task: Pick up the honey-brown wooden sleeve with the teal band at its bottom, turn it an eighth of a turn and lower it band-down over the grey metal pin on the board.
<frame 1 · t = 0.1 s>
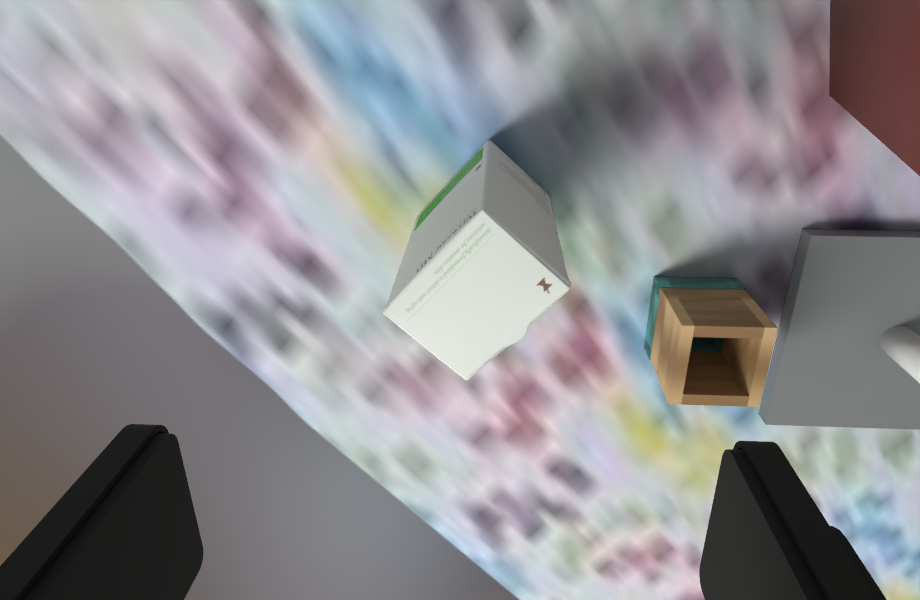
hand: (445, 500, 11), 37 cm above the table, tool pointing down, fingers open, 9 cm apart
skincare box: (483, 209, 47), on the table
wooden sleeve: (688, 313, 49), on the table
pin board: (885, 330, 49), on the table
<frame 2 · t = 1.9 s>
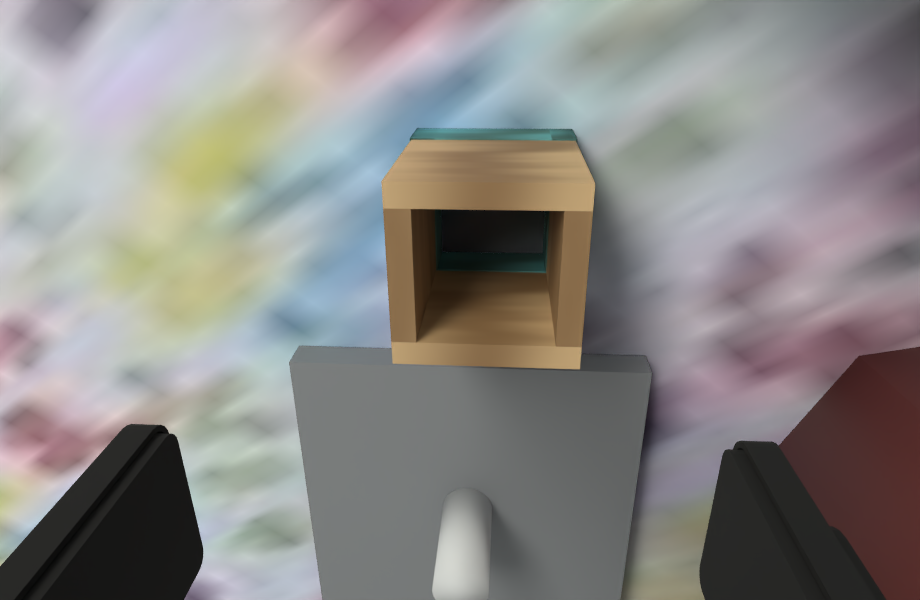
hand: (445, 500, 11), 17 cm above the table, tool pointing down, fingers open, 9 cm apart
wooden sleeve: (492, 203, 26), on the table
pin board: (469, 486, 33), on the table
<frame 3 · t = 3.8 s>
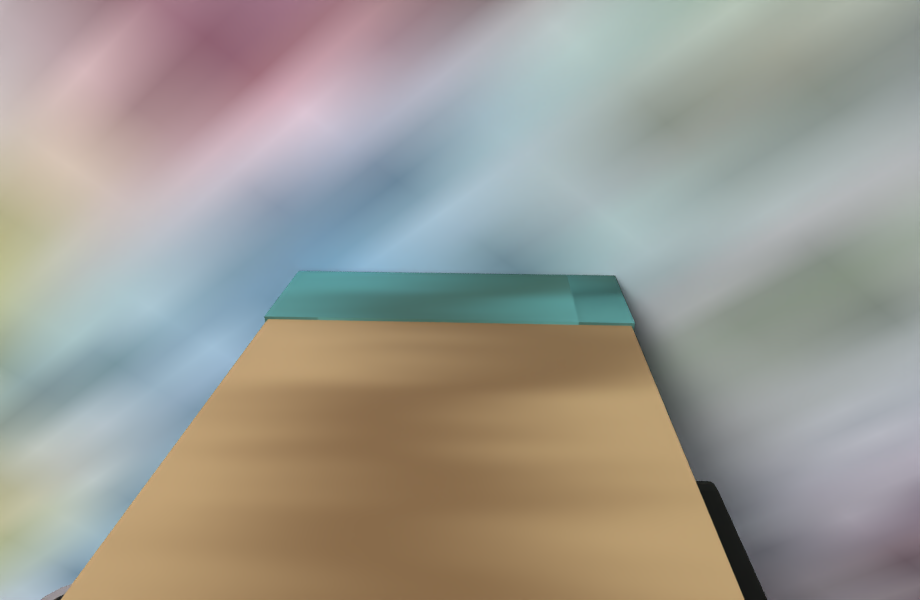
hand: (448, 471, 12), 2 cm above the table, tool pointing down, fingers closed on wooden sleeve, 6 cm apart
wooden sleeve: (456, 406, 14), on the table, touching gripper
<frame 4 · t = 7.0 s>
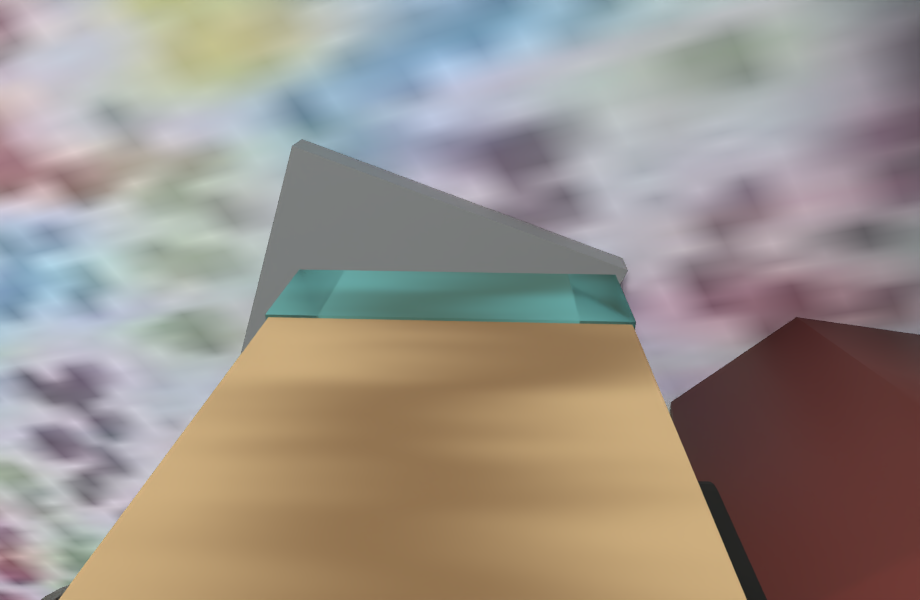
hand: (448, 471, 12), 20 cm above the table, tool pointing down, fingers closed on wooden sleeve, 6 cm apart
bucket: (824, 446, 35), on the table
wooden sleeve: (456, 405, 14), point 18 cm above the table, touching gripper
pin board: (412, 340, 33), on the table
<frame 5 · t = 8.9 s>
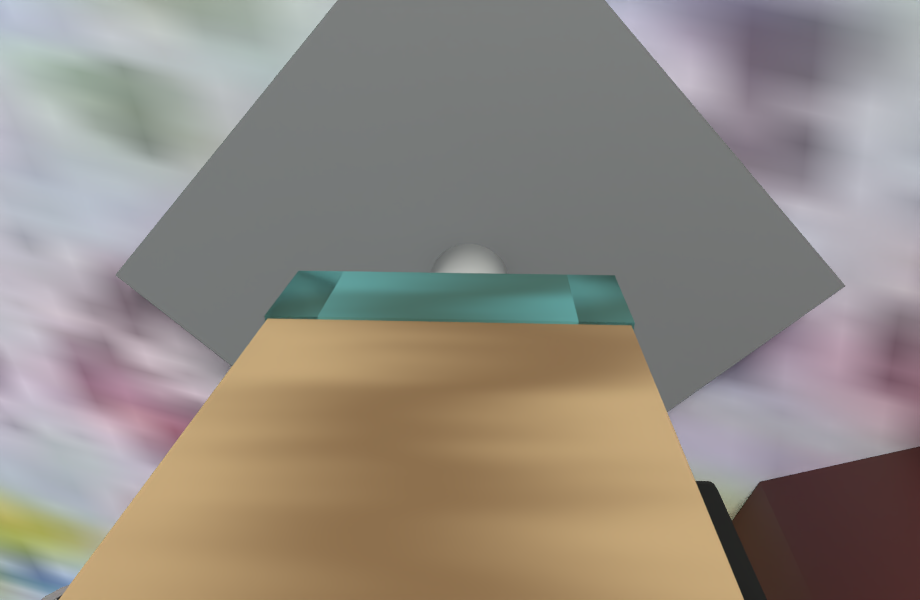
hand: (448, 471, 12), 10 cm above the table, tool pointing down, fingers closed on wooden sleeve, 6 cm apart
bucket: (895, 598, 27), on the table
wooden sleeve: (456, 405, 14), point 8 cm above the table, touching gripper
pin board: (471, 262, 21), on the table
when the fingers open (5 cm above the table, at t = 10.5 s): wooden sleeve drops 1 cm, resting on pin board.
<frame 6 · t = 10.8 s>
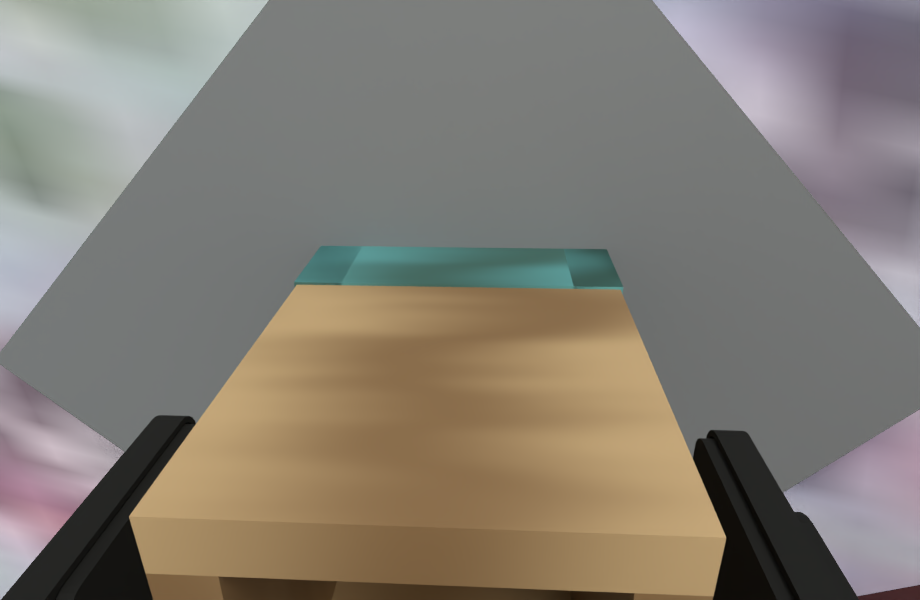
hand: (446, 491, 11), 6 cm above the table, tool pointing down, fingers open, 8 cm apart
wooden sleeve: (462, 370, 15), point 1 cm above the table, touching pin board
pin board: (462, 340, 16), on the table
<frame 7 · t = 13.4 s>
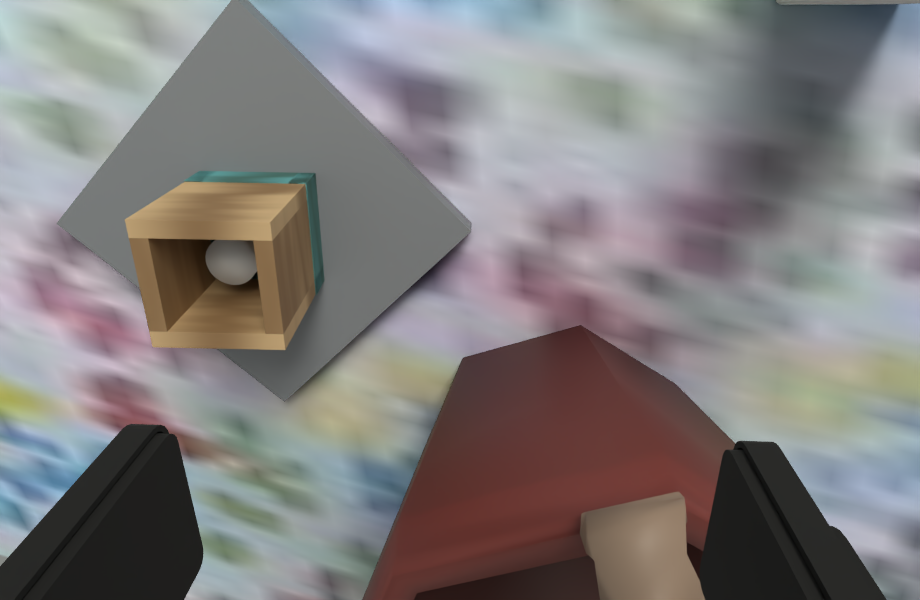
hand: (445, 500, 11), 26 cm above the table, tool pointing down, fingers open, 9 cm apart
bucket: (562, 437, 42), on the table
wooden sleeve: (264, 227, 35), point 1 cm above the table, touching pin board
pin board: (270, 218, 36), on the table
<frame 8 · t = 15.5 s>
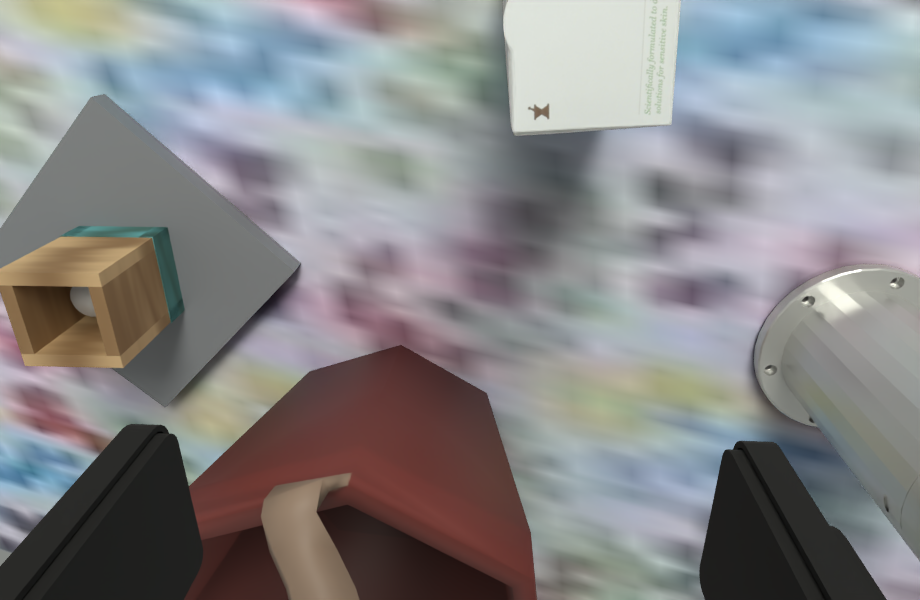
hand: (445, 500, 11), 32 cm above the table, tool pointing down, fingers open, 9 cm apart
bucket: (401, 437, 51), on the table
skincare box: (558, 17, 37), on the table
wooden sleeve: (133, 269, 44), point 1 cm above the table, touching pin board
pin board: (143, 261, 45), on the table
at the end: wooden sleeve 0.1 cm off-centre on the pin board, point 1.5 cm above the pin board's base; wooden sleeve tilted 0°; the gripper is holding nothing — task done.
